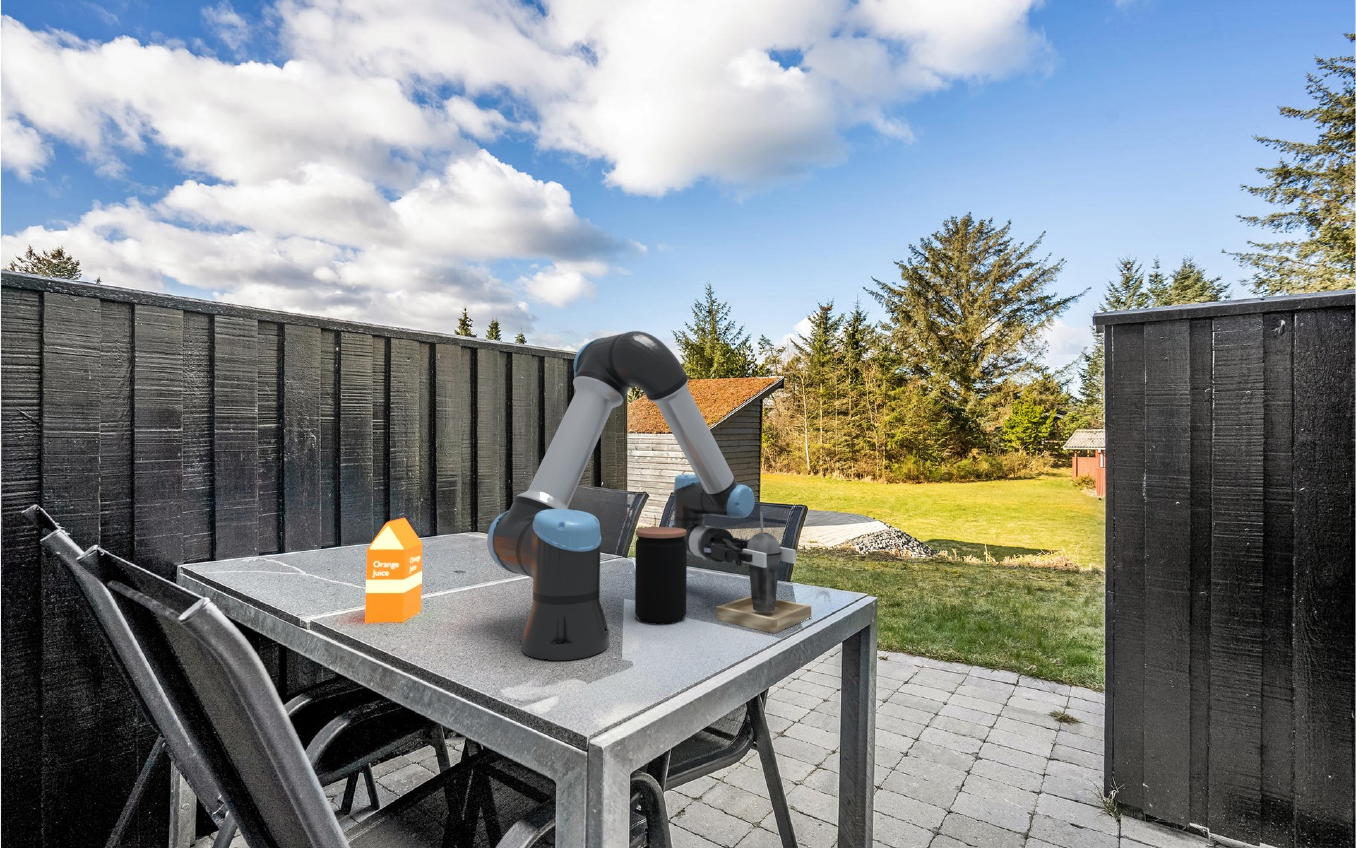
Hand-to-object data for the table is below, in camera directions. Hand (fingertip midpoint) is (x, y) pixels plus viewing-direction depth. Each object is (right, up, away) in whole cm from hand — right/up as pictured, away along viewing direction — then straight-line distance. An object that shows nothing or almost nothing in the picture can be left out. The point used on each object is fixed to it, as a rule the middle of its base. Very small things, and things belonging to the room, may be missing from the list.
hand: (779, 558), depth 116 cm
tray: (-3, -13, +4) cm, 14 cm away
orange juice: (-79, -13, +4) cm, 80 cm away
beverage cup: (-3, -11, +4) cm, 12 cm away
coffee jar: (-24, -13, +4) cm, 28 cm away
